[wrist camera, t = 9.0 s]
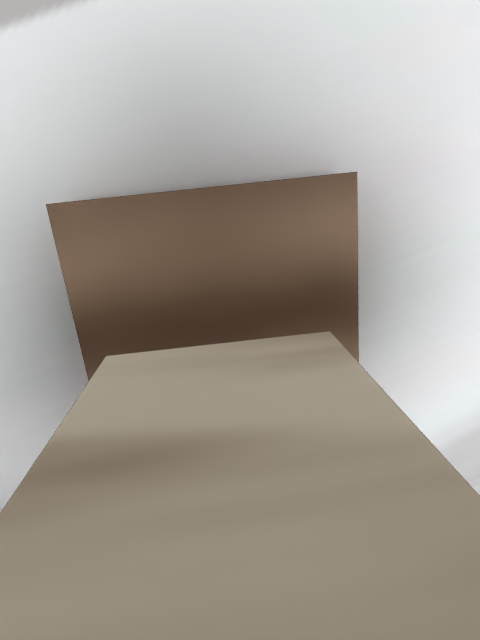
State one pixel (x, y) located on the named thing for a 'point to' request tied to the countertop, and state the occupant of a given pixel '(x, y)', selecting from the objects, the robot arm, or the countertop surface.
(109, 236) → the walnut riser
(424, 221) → the countertop surface
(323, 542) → the birch block
